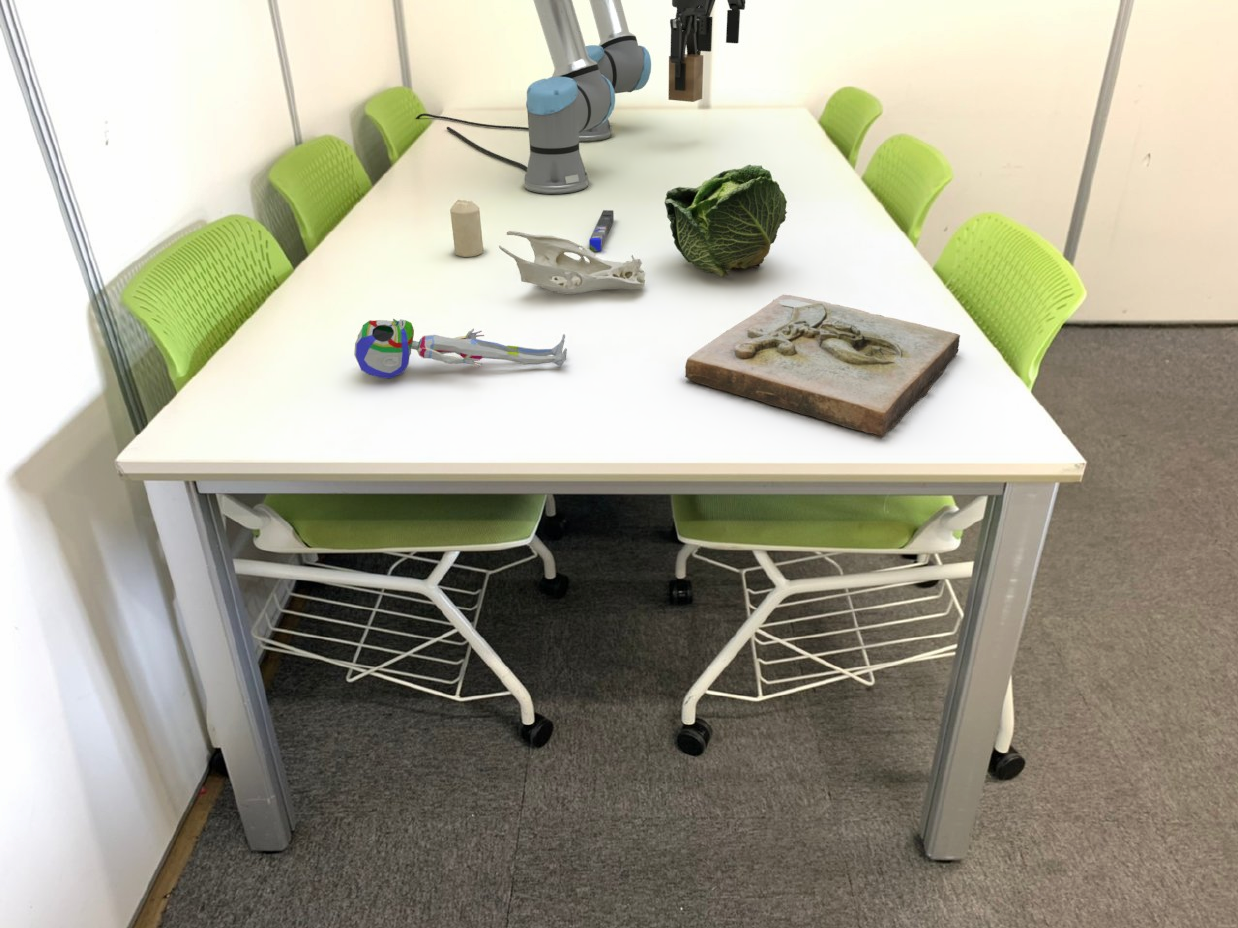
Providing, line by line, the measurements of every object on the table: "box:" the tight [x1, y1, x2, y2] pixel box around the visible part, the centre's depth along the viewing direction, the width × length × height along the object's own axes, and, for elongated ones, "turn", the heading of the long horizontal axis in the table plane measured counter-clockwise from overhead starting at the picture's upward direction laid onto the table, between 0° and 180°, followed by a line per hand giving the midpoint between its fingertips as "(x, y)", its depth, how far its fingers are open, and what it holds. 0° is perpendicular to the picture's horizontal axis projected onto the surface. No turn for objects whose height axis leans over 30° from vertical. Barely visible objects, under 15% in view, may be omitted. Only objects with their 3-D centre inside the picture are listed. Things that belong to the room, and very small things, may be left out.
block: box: [668, 53, 704, 103], centre depth 236 cm, size 5×7×11 cm
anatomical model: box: [498, 230, 646, 295], centre depth 156 cm, size 15×9×25 cm
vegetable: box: [664, 164, 788, 278], centre depth 161 cm, size 20×19×20 cm
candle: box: [449, 199, 484, 258], centre depth 172 cm, size 6×6×10 cm
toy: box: [353, 318, 568, 379], centre depth 130 cm, size 10×8×30 cm
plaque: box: [684, 294, 961, 438], centre depth 129 cm, size 30×7×30 cm
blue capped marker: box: [588, 209, 615, 252], centre depth 182 cm, size 2×2×20 cm
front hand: (718, 47), depth 194 cm, fingers open, 13 cm apart
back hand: (685, 88), depth 237 cm, fingers closed on block, 5 cm apart
